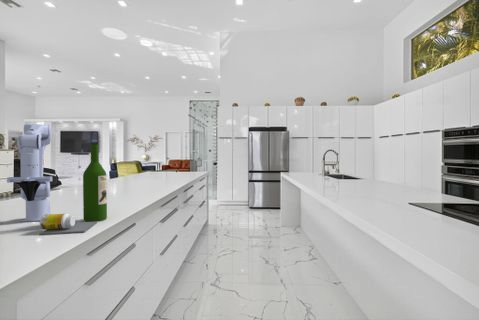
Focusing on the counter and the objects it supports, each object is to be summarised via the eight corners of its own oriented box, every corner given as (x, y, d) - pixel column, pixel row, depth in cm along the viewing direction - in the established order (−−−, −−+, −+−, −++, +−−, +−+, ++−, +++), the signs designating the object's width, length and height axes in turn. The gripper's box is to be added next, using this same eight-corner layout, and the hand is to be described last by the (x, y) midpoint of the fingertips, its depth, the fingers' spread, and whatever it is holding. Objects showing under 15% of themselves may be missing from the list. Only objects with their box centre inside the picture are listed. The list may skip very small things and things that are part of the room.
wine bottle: (100, 222, 111) (99, 144, 110) (78, 222, 111) (77, 144, 110) (110, 217, 119) (110, 145, 119) (91, 217, 120) (90, 145, 119)
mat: (58, 224, 107) (58, 223, 107) (97, 222, 109) (97, 221, 109) (39, 235, 93) (39, 233, 93) (84, 232, 96) (84, 230, 96)
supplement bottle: (36, 226, 94) (67, 225, 95) (42, 211, 97) (71, 210, 98) (44, 232, 99) (74, 230, 100) (49, 217, 102) (78, 217, 103)
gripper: (1, 166, 97) (1, 203, 97) (45, 165, 100) (46, 201, 100) (13, 165, 104) (14, 200, 104) (54, 165, 107) (55, 198, 107)
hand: (30, 200), depth 103 cm, fingers closed
